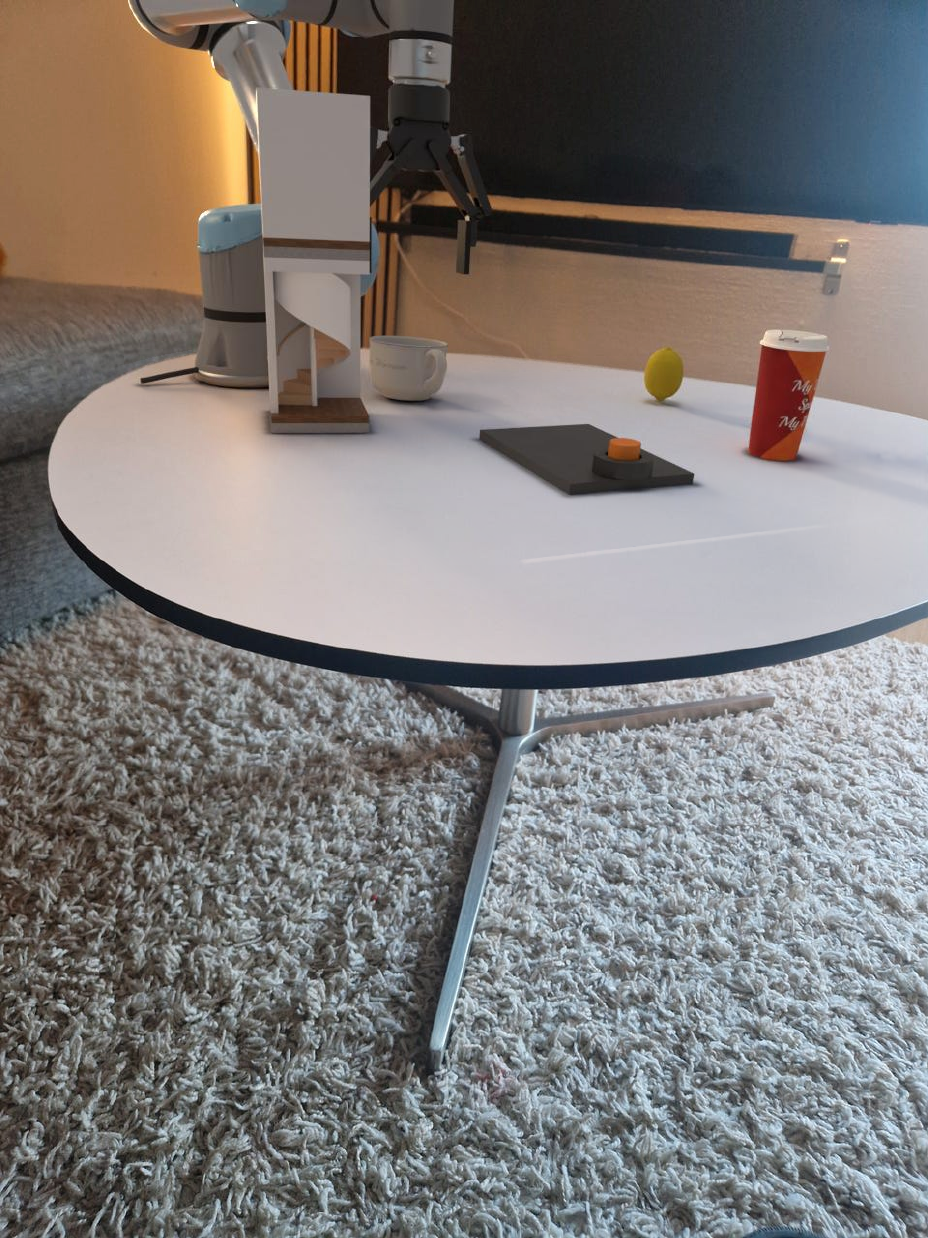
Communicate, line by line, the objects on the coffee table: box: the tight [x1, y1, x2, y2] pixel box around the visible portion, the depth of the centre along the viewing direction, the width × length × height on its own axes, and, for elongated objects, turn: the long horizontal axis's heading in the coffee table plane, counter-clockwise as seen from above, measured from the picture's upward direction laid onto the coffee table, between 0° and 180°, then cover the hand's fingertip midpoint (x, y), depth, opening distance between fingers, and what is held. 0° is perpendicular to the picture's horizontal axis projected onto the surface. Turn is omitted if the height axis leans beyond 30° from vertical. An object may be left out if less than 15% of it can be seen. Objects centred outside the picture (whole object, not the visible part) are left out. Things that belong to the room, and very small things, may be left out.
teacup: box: [368, 335, 449, 402], centre depth 123 cm, size 14×11×8 cm
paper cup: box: [748, 329, 831, 462], centre depth 105 cm, size 8×8×14 cm
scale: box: [478, 423, 695, 496], centre depth 100 cm, size 15×22×3 cm, turn 23°
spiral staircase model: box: [256, 87, 371, 434], centre depth 103 cm, size 11×11×35 cm
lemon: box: [643, 345, 684, 403], centre depth 130 cm, size 6×6×8 cm
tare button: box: [608, 437, 642, 460], centre depth 92 cm, size 3×3×2 cm
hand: (414, 272), depth 118 cm, fingers open, 13 cm apart
